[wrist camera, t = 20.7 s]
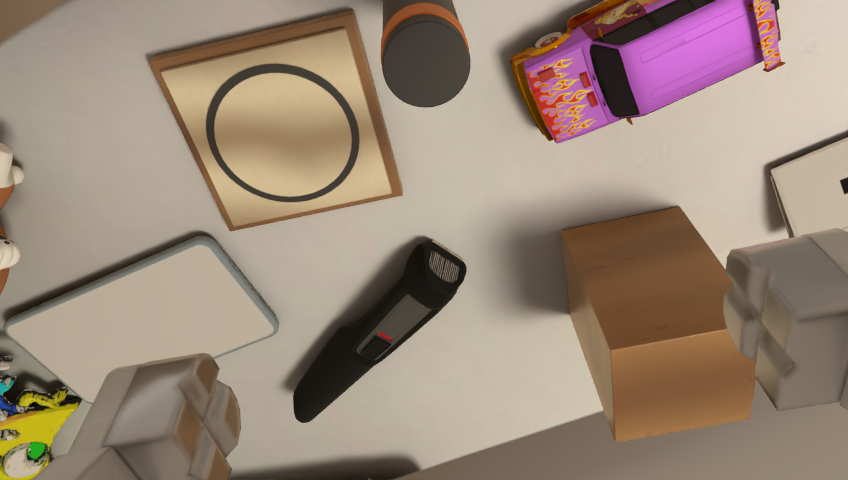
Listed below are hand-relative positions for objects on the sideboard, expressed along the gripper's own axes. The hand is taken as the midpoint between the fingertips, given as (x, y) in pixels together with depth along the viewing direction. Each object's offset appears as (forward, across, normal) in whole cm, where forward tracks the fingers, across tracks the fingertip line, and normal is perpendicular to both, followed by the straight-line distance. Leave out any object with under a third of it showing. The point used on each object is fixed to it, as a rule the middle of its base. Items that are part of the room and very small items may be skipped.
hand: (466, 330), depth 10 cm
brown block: (+23, -9, +19) cm, 31 cm away
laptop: (+24, -22, +16) cm, 36 cm away
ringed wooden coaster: (+23, +8, +6) cm, 25 cm away
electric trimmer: (+23, +7, +20) cm, 31 cm away
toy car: (+23, -10, +5) cm, 26 cm away
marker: (+23, 0, 0) cm, 23 cm away
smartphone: (+23, +21, +16) cm, 35 cm away
